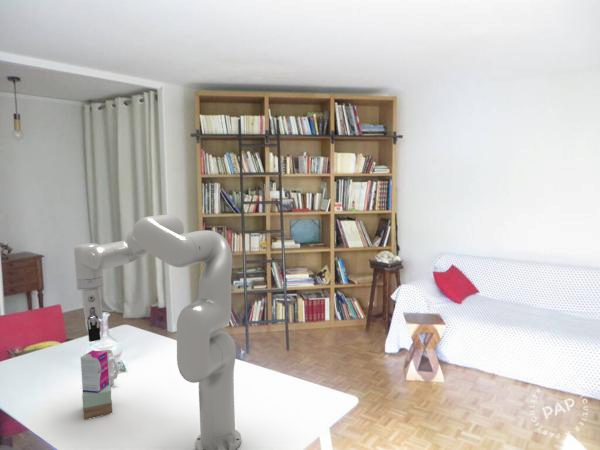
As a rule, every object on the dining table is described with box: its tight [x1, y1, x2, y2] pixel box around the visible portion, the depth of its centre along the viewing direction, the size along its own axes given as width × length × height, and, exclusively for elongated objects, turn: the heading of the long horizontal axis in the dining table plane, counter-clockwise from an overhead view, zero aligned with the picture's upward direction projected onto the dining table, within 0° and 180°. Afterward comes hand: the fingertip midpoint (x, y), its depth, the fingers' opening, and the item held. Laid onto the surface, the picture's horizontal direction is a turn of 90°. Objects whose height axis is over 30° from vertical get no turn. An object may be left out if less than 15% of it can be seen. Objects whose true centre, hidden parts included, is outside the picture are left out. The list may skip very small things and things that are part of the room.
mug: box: [98, 348, 120, 387], centre depth 157 cm, size 10×7×12 cm, turn 70°
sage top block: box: [81, 380, 112, 409], centre depth 140 cm, size 8×8×4 cm
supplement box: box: [80, 350, 109, 393], centre depth 139 cm, size 6×6×12 cm
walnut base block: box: [83, 400, 113, 420], centre depth 140 cm, size 8×8×4 cm
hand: (94, 335), depth 138 cm, fingers open, 9 cm apart
